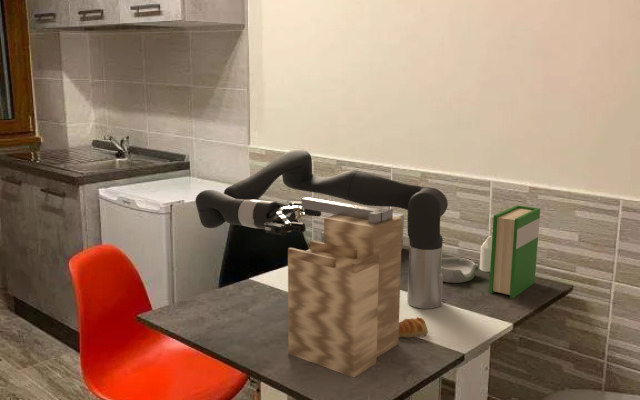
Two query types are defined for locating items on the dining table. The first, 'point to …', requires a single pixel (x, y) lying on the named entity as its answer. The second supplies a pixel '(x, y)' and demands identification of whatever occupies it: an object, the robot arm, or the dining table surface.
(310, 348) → the stand
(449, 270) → the dish
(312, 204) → the t handle
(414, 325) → the pastry
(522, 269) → the hardback book
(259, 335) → the dining table surface
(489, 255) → the white bottle
